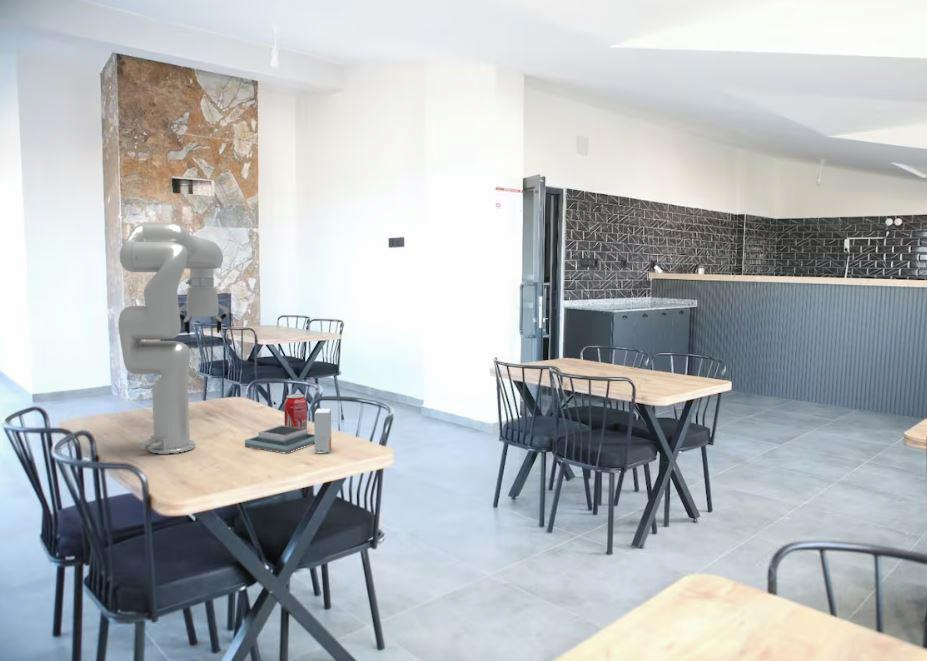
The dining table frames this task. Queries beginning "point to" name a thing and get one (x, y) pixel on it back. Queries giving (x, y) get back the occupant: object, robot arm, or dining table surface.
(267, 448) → the tray
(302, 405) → the soda can
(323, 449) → the skincare box
